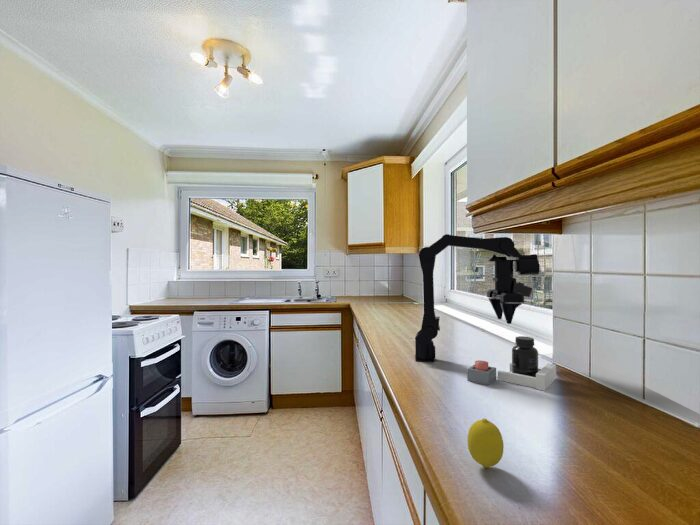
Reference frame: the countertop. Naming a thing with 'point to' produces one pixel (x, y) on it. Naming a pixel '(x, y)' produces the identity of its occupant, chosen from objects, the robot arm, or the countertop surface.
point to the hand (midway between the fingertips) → (504, 321)
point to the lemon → (485, 443)
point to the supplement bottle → (524, 357)
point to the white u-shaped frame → (539, 382)
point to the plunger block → (481, 375)
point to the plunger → (481, 365)
